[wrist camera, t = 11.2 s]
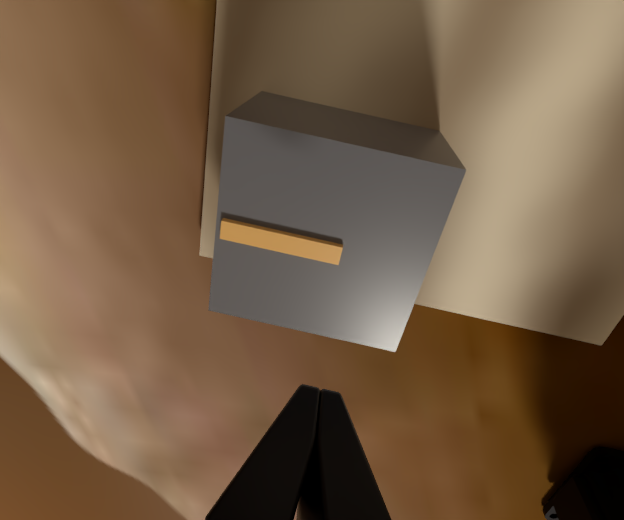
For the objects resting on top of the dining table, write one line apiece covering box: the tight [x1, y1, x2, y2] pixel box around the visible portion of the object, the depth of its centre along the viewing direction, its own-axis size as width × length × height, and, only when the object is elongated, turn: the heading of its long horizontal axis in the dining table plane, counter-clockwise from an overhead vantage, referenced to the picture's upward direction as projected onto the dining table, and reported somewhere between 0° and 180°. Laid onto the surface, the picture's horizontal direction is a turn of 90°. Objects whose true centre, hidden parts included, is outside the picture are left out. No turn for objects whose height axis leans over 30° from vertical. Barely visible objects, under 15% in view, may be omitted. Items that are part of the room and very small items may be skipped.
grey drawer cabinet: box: [209, 91, 466, 352], centre depth 14 cm, size 6×6×5 cm
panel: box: [199, 0, 624, 346], centre depth 14 cm, size 18×20×1 cm
